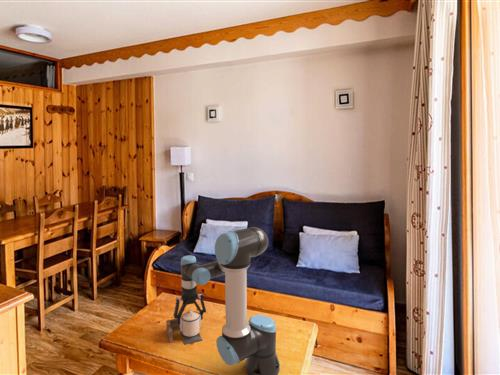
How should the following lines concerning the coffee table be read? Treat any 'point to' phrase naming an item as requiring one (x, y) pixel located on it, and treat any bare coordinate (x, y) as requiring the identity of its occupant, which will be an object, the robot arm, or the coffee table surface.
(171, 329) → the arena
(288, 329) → the coffee table surface
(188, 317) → the teacup with lid
